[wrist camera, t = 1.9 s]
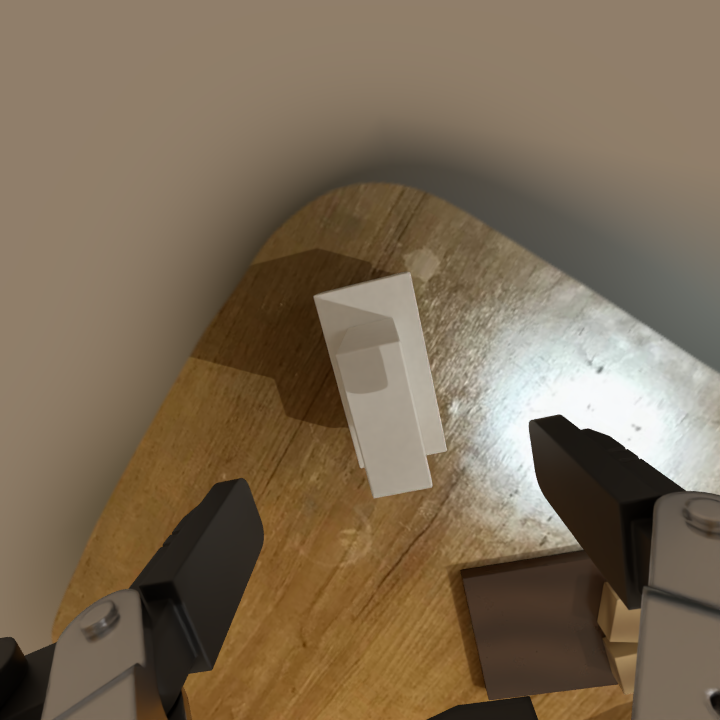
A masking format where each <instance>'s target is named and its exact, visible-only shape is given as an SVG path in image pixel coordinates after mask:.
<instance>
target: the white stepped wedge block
mask: <svg viewBox="0 0 720 720" xmlns="http://www.w3.org/2000/svg"><path fill="white" fill-rule="evenodd" d="M314 300H315V304H316V308H317V311H318V315H319V319H320V322H321V326H322V330H323V334H324V337H325V341H326V345H327V348H328V352H329V356H330V359H331V363H332V367H333V370H334V374H335V378H336V381H337V385H338V389H339V392H340V396H341V400H342V403H343V407H344V411H345V414H346V418H347V422H348V425H349V429H350V433H351V436H352V440H353V444H354V447H355V451H356V455H357V458H358V462H359V466H360V468H363V467H365V470H366V474H367V477H368V481H369V485H370V489H371V492H372V496H373V497H374V498H378V497H383V496H389V495H394V494H399V493H405V492H410V491H415V490H421V489H426V488H431V487H432V480H431V476H430V471H429V467H428V462H427V458H426V455H430V454H435V453H440V452H445V451H447V448H446V443H445V438H444V434H443V429H442V424H441V419H440V414H439V409H438V405H437V400H436V395H435V390H434V385H433V381H432V376H431V371H430V366H429V361H428V356H427V352H426V347H425V342H424V337H423V332H422V327H421V323H420V318H419V313H418V308H417V303H416V298H415V294H414V289H413V284H412V279H411V274H410V272H402V273H398V274H394V275H390V276H386V277H382V278H378V279H374V280H370V281H366V282H361V283H357V284H353V285H349V286H345V287H341V288H337V289H333V290H329V291H325V292H321V293H319V294H317V295H315V296H314Z"/></svg>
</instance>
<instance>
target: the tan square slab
mask: <svg viewBox="0 0 720 720" xmlns="http://www.w3.org/2000/svg"><path fill="white" fill-rule="evenodd" d="M602 640H603V643H604V647H605V650H606V654H607V657H608V661H609V664H610V668H611V671H612V674H613V676H614V677H615V679H616V681H617V683H618V684H619V686H620V688H621V689H622V691H623V693H624V694H625V695H626V694H631V693H634V683H635V671H636V659H637V648H638V643H637V642H610V641H609V640H608V639H607V637H604V638H602Z"/></svg>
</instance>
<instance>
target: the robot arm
mask: <svg viewBox="0 0 720 720" xmlns="http://www.w3.org/2000/svg"><path fill="white" fill-rule="evenodd" d="M529 433H530V440H531V447H532V454H533V460H534V467H535V473H536V478H537V481H538V484H539V487H540V489H541V491H542V493H543V495H544V497H545V498H546V499H547V501H548V502H549V503H550V505H551V506H552V507H553V509H554V510H555V512H556V513H557V514H558V516H559V517H560V518H561V520H562V521H563V522H564V524H565V525H566V526H567V528H568V529H569V530H570V532H571V533H572V534H573V536H574V537H575V539H576V540H577V541H578V543H579V544H580V545H581V547H582V548H583V549H584V551H585V552H586V553H587V555H588V556H589V557H590V559H591V560H592V562H593V563H594V564H595V566H596V567H597V568H598V570H599V571H600V572H601V574H602V575H603V576H604V578H605V579H606V580H607V582H608V583H609V584H610V586H611V587H612V589H613V590H614V591H615V593H616V594H617V595H618V597H619V598H620V599H621V601H622V602H623V603H624V605H625V606H626V607H627V609H628V610H635V609H641V613H640V624H639V636H638V648H637V659H636V671H635V683H634V694H633V706H632V718H631V720H720V495H716V494H711V493H706V492H697V491H686V490H684V489H683V488H681V487H680V486H679V485H677V484H676V483H674V482H673V481H672V480H670V479H669V478H667V477H666V476H665V475H663V474H662V473H660V472H659V471H658V470H656V469H655V468H653V467H652V466H651V465H649V464H648V463H646V462H645V461H644V460H642V459H639V458H638V456H637V455H635V454H634V453H633V452H631V451H630V450H628V449H625V447H624V446H623V445H621V444H620V443H619V442H617V441H616V440H614V439H613V438H612V437H610V436H608V435H605V434H602V433H600V432H597V431H594V430H591V429H583V430H580V429H579V428H578V427H576V426H575V425H574V424H572V423H571V422H570V421H569V420H567V419H566V418H565V417H564V416H562V415H554V416H549V417H544V418H539V419H534V420H531V421H530V422H529ZM263 540H264V531H263V525H262V522H261V519H260V516H259V513H258V510H257V508H256V505H255V502H254V499H253V496H252V494H251V491H250V488H249V485H248V483H247V482H246V480H245V479H243V478H239V479H234V480H230V481H225V482H220V483H216V484H215V485H214V486H213V487H212V488H211V490H210V491H209V493H208V494H207V495H206V497H205V498H204V499H203V501H202V502H201V503H200V504H199V505H198V506H197V507H196V508H194V509H193V510H192V511H191V512H190V513H188V514H187V515H186V516H185V517H184V518H183V519H182V520H181V521H180V523H179V524H178V525H177V527H176V528H175V529H174V531H173V532H172V535H170V536H169V537H168V538H167V540H166V541H165V542H164V543H163V547H161V548H160V549H159V550H158V551H157V553H156V554H155V555H154V556H153V558H152V559H151V560H150V562H149V563H148V564H147V565H146V567H145V568H144V569H143V571H142V572H141V573H140V575H139V576H138V577H137V578H136V580H135V581H134V582H133V584H132V585H131V586H130V587H129V589H124V590H120V591H117V592H114V593H111V594H109V595H107V596H105V597H103V598H101V599H100V600H98V601H96V602H95V603H93V604H92V605H90V606H89V607H88V608H86V609H85V610H84V611H82V612H81V613H80V614H79V615H78V616H77V617H76V618H75V619H74V620H73V621H72V622H71V623H70V624H69V625H68V626H67V627H66V628H65V630H64V631H63V632H62V634H61V635H60V637H59V639H58V641H57V642H56V643H54V644H51V645H49V646H47V647H45V648H42V649H40V650H37V651H35V652H32V653H30V654H28V655H25V656H24V654H23V653H22V651H21V650H20V647H19V646H18V644H17V642H16V641H15V639H14V638H12V637H5V638H0V720H192V716H191V711H190V706H189V701H188V697H187V694H186V692H185V689H184V687H183V685H184V683H185V680H186V678H187V676H188V674H190V673H197V672H204V671H210V670H212V669H213V667H214V664H215V662H216V659H217V657H218V655H219V652H220V650H221V647H222V645H223V642H224V640H225V637H226V635H227V632H228V630H229V628H230V625H231V623H232V620H233V618H234V615H235V613H236V610H237V608H238V605H239V603H240V601H241V598H242V596H243V593H244V591H245V588H246V586H247V583H248V581H249V578H250V576H251V574H252V571H253V569H254V566H255V564H256V561H257V559H258V556H259V554H260V551H261V549H262V546H263ZM427 720H538V718H537V715H536V712H535V710H534V707H533V704H532V701H531V699H530V696H526V697H518V698H511V699H503V700H495V701H487V702H480V703H472V704H464V705H457V706H455V707H453V708H450V709H448V710H446V711H444V712H442V713H440V714H438V715H436V716H433V717H431V718H429V719H427Z"/></svg>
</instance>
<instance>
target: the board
mask: <svg viewBox="0 0 720 720" xmlns="http://www.w3.org/2000/svg"><path fill="white" fill-rule="evenodd" d="M461 576H462V580H463V585H464V589H465V594H466V599H467V603H468V608H469V613H470V617H471V622H472V626H473V631H474V636H475V640H476V645H477V650H478V654H479V659H480V663H481V668H482V673H483V677H484V682H485V687H486V691H487V695H488V699H489V700H495V699H504V698H512V697H520V696H528V695H536V694H544V693H552V692H560V691H568V690H576V689H584V688H592V687H600V686H608V685H617V684H618V683H617V681H616V679H615V677H614V676H613V674H612V671H611V668H610V664H609V661H608V657H607V654H606V650H605V647H604V643H603V640H602V638H604V637H606V635H605V634H604V632H603V630H602V629H601V627H600V626H599V624H598V622H597V620H598V614H599V608H600V602H601V596H602V591H603V585H604V582H607V580H606V579H605V578H604V576H603V575H602V574H601V572H600V571H599V570H598V568H597V567H596V566H595V564H594V563H593V562H592V560H591V559H590V557H589V556H588V555H587V553H586V552H585V551H584V550H583V551H577V552H571V553H564V554H558V555H552V556H546V557H540V558H533V559H527V560H521V561H515V562H509V563H503V564H496V565H490V566H484V567H478V568H472V569H465V570H461Z"/></svg>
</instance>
